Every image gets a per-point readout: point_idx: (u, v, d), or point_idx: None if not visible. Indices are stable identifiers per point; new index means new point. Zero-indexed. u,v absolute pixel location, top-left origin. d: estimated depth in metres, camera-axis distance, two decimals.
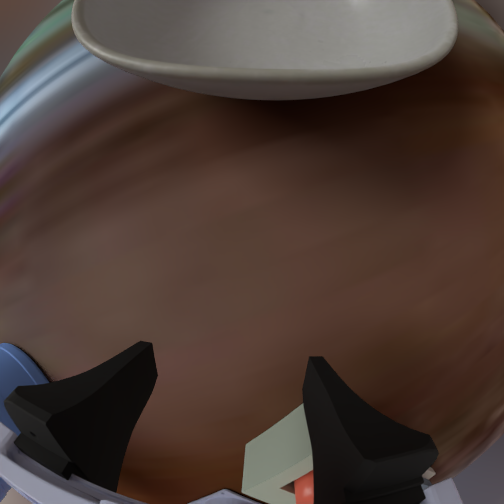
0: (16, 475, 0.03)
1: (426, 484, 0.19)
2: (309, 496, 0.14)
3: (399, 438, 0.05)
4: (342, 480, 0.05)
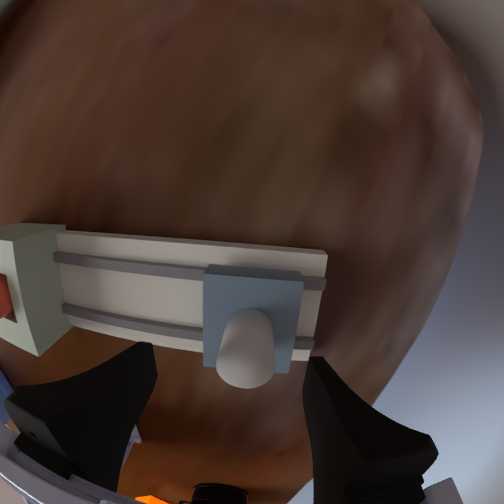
0: (16, 475, 0.03)
1: (254, 276, 0.16)
2: None
3: (399, 439, 0.05)
4: (342, 480, 0.05)
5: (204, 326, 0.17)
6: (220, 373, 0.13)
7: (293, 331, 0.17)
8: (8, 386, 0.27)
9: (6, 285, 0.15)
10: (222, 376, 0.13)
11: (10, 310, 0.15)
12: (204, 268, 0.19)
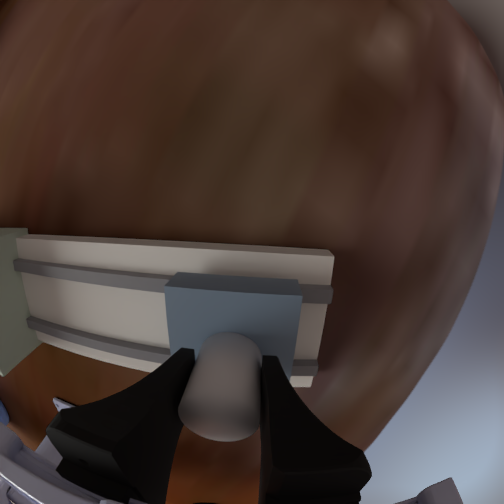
0: (16, 475, 0.03)
1: (233, 289, 0.12)
2: None
3: (325, 450, 0.05)
4: (266, 484, 0.05)
5: (172, 353, 0.12)
6: (186, 423, 0.09)
7: (289, 360, 0.12)
8: None
9: None
10: (189, 427, 0.09)
11: None
12: None
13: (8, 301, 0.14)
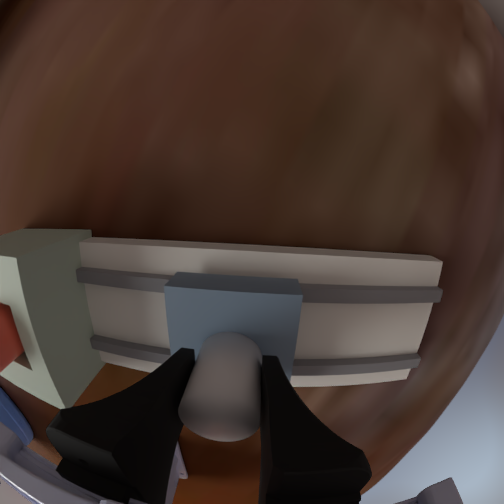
0: (16, 475, 0.03)
1: (233, 289, 0.12)
2: None
3: (325, 450, 0.05)
4: (266, 484, 0.05)
5: (172, 353, 0.12)
6: (186, 423, 0.09)
7: (290, 360, 0.12)
8: (20, 416, 0.23)
9: (11, 319, 0.10)
10: (189, 427, 0.09)
11: (20, 352, 0.11)
12: (312, 285, 0.14)
13: (71, 320, 0.13)
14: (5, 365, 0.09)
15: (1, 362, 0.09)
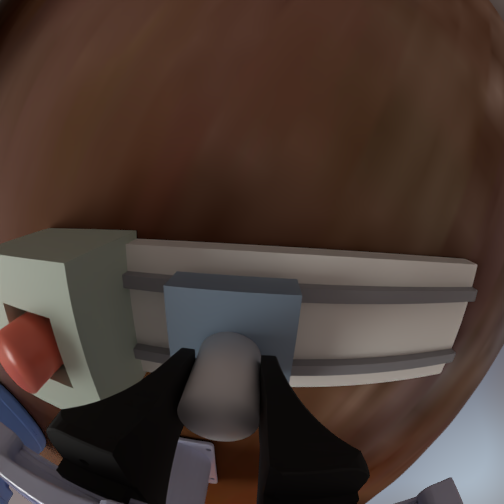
0: (16, 475, 0.03)
1: (233, 289, 0.12)
2: None
3: (323, 450, 0.05)
4: (264, 484, 0.05)
5: (172, 353, 0.12)
6: (185, 423, 0.09)
7: (289, 360, 0.12)
8: (33, 424, 0.23)
9: (48, 332, 0.10)
10: (188, 426, 0.09)
11: (57, 369, 0.10)
12: (374, 288, 0.14)
13: (117, 330, 0.13)
14: (42, 385, 0.09)
15: (38, 382, 0.08)
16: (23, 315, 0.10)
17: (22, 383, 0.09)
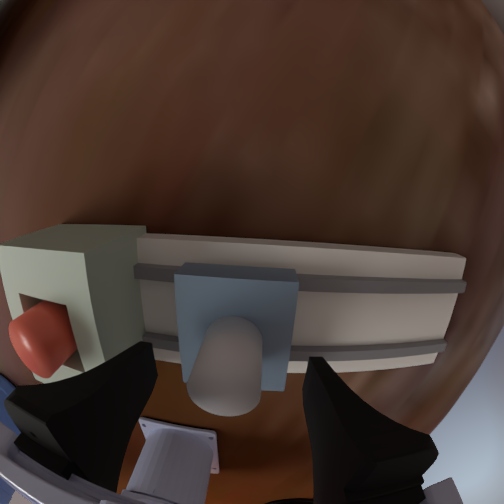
0: (16, 475, 0.03)
1: (237, 277, 0.13)
2: (15, 342, 0.10)
3: (399, 439, 0.05)
4: (342, 480, 0.05)
5: (180, 337, 0.14)
6: (193, 398, 0.10)
7: (288, 343, 0.13)
8: None
9: (63, 319, 0.11)
10: (196, 402, 0.10)
11: (71, 354, 0.12)
12: (366, 278, 0.15)
13: (128, 318, 0.15)
14: (56, 369, 0.10)
15: (54, 366, 0.10)
16: (39, 304, 0.11)
17: (36, 369, 0.10)
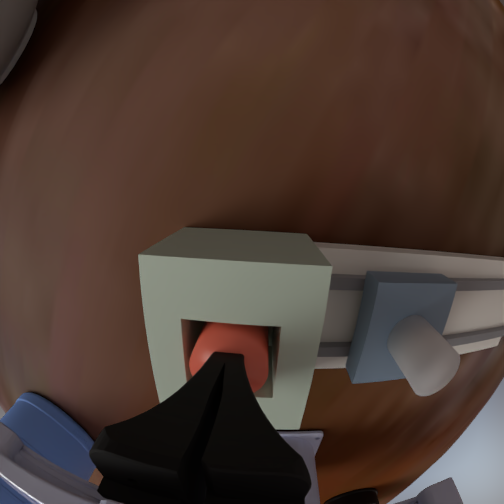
0: (16, 475, 0.03)
1: (421, 282, 0.13)
2: (198, 364, 0.11)
3: (261, 451, 0.05)
4: None
5: (367, 340, 0.14)
6: (415, 386, 0.10)
7: (441, 332, 0.14)
8: (90, 442, 0.24)
9: (262, 328, 0.13)
10: (415, 389, 0.10)
11: None
12: (473, 279, 0.16)
13: None
14: None
15: (265, 379, 0.12)
16: None
17: None
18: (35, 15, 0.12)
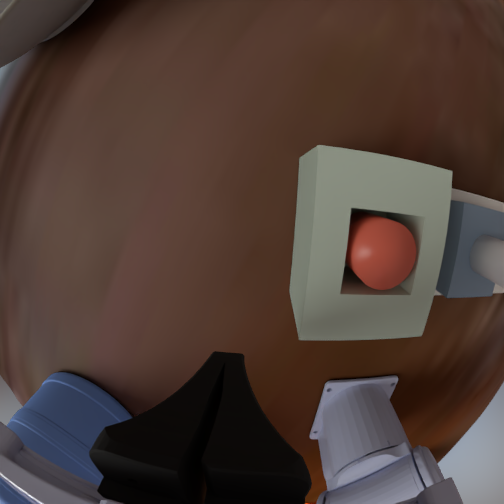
0: (16, 475, 0.03)
1: (486, 208, 0.14)
2: (364, 252, 0.12)
3: (262, 451, 0.05)
4: None
5: (458, 253, 0.15)
6: None
7: None
8: None
9: None
10: None
11: None
12: None
13: None
14: None
15: (410, 267, 0.13)
16: (371, 215, 0.14)
17: (382, 280, 0.13)
18: None
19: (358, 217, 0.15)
